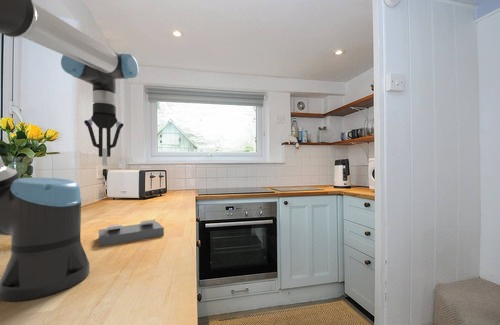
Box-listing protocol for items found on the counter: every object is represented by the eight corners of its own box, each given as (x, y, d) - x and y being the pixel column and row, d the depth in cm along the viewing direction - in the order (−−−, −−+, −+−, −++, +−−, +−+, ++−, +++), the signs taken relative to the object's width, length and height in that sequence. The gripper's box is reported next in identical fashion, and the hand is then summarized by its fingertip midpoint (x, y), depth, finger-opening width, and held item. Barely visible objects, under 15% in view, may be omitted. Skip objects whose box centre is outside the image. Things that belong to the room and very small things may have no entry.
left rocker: (121, 227, 78) (121, 224, 78) (108, 229, 76) (108, 226, 76) (119, 227, 84) (119, 223, 84) (107, 228, 82) (107, 225, 82)
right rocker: (155, 222, 85) (155, 219, 85) (143, 223, 82) (143, 220, 83) (151, 223, 90) (151, 220, 90) (140, 224, 88) (140, 221, 88)
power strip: (163, 235, 84) (163, 225, 84) (99, 247, 73) (99, 235, 73) (156, 228, 93) (156, 219, 93) (98, 238, 82) (98, 227, 82)
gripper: (122, 108, 94) (122, 165, 94) (83, 104, 87) (83, 165, 86) (124, 104, 88) (125, 165, 88) (83, 99, 80) (83, 165, 80)
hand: (104, 165), depth 87 cm, fingers closed
